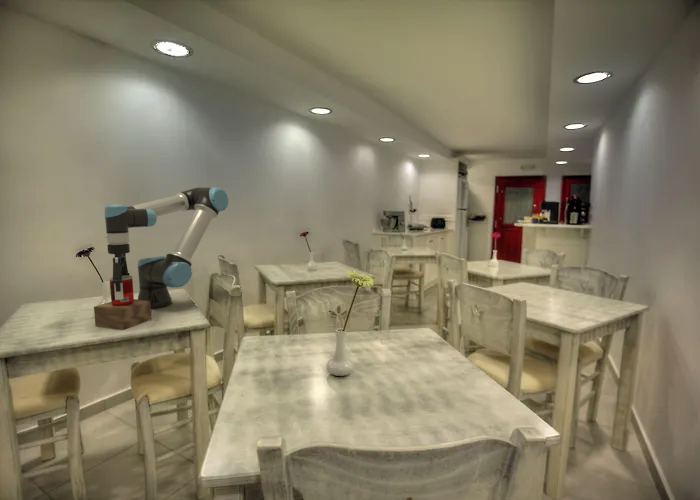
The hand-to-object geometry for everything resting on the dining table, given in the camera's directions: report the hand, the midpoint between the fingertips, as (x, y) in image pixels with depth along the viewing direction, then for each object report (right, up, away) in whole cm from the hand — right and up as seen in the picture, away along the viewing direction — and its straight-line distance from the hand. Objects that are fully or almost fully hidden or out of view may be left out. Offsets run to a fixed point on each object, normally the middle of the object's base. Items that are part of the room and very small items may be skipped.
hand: (122, 295), depth 154 cm
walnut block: (0, -11, +2) cm, 12 cm away
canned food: (0, -4, +1) cm, 4 cm away
